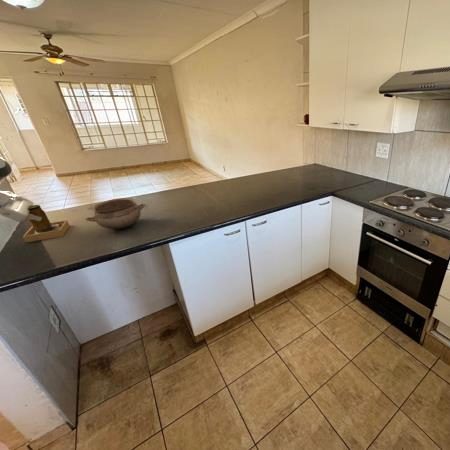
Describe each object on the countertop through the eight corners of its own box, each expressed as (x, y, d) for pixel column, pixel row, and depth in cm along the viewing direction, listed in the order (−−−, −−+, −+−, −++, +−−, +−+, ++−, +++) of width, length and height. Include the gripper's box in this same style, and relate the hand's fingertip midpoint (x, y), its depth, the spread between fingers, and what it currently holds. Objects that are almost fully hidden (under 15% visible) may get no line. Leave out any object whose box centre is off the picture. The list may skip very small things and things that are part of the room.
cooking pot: (97, 242, 112) (86, 218, 106) (89, 228, 123) (79, 206, 118) (155, 224, 128) (148, 202, 122) (143, 213, 139) (137, 193, 134)
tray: (26, 242, 112) (22, 236, 110) (35, 231, 121) (32, 225, 120) (63, 235, 117) (60, 229, 116) (69, 225, 127) (67, 219, 125)
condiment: (35, 229, 118) (21, 206, 113) (58, 223, 123) (46, 201, 118) (34, 235, 113) (20, 211, 108) (58, 229, 118) (46, 206, 113)
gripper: (-2, 203, 99) (43, 218, 109) (9, 190, 113) (48, 204, 123) (-12, 216, 98) (34, 230, 108) (1, 201, 113) (40, 214, 123)
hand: (42, 216), depth 116 cm, fingers closed on condiment, 6 cm apart
